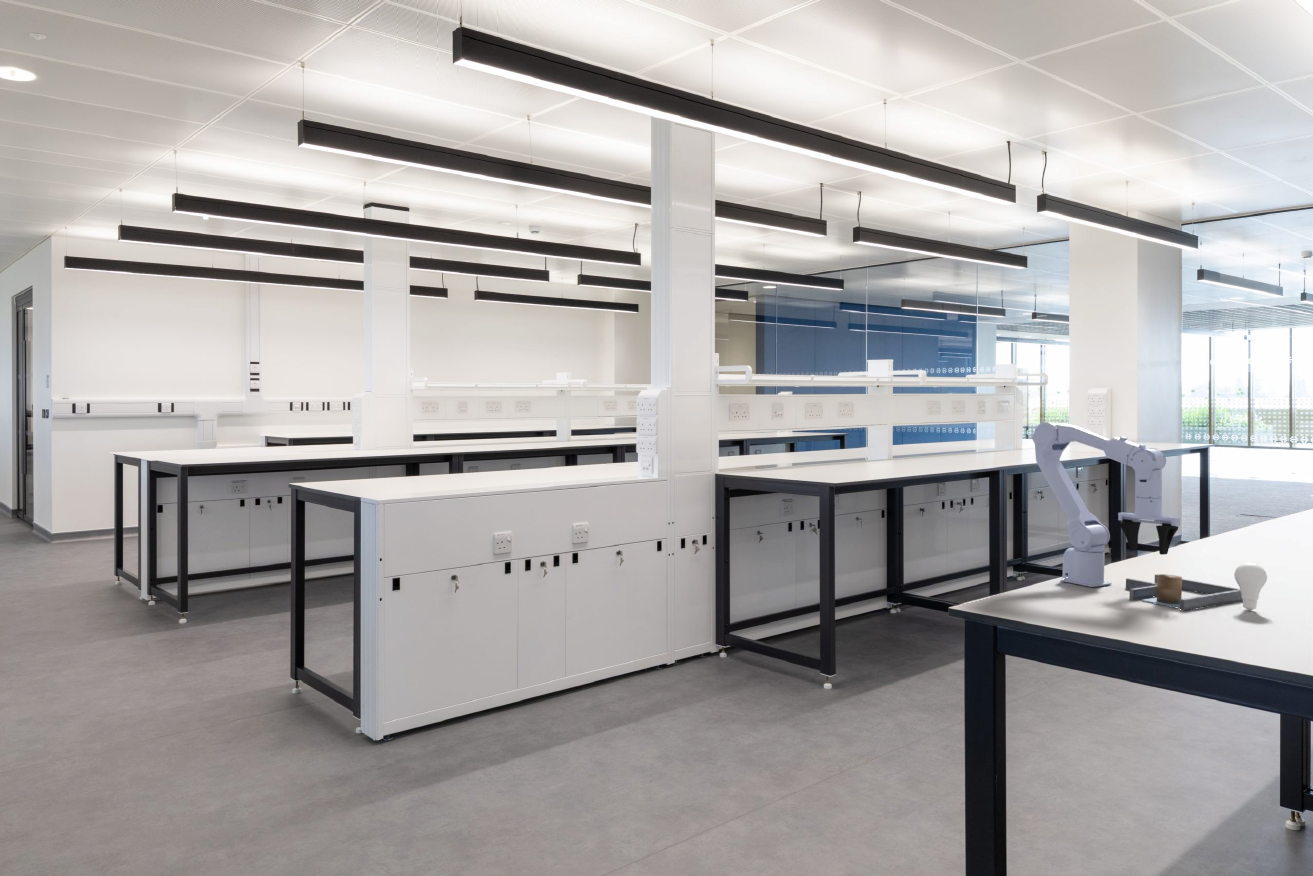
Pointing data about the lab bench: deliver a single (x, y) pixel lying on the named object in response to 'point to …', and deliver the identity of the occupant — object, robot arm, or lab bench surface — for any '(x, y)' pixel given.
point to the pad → (1154, 600)
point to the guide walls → (1214, 596)
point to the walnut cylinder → (1169, 589)
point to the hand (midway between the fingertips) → (1148, 552)
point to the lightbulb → (1250, 583)
